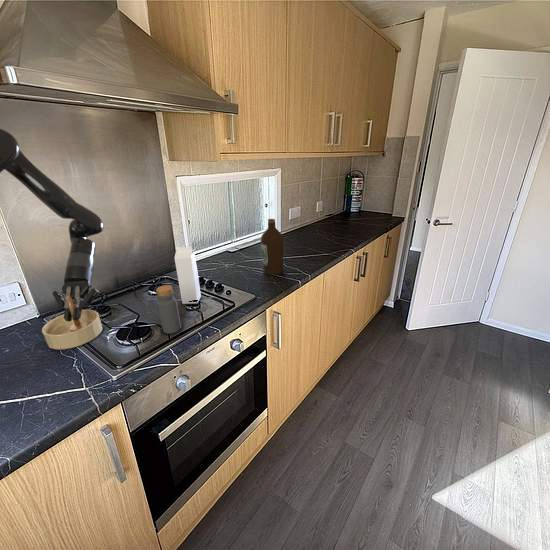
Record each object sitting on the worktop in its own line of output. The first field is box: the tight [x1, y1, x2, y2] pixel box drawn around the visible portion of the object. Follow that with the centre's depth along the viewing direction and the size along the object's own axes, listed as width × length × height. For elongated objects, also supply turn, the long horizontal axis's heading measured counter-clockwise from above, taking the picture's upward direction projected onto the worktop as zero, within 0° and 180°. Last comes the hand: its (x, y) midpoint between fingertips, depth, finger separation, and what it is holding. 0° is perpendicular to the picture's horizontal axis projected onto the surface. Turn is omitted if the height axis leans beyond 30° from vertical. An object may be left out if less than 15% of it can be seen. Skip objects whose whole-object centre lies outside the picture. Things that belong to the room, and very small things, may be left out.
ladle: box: [66, 296, 88, 332], centre depth 92 cm, size 5×5×13 cm
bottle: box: [155, 284, 182, 335], centre depth 94 cm, size 6×6×15 cm
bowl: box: [41, 309, 104, 350], centre depth 94 cm, size 15×15×6 cm
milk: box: [174, 246, 202, 305], centre depth 111 cm, size 6×6×22 cm
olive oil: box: [260, 218, 285, 276], centre depth 136 cm, size 11×11×25 cm
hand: (71, 320), depth 90 cm, fingers closed on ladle
